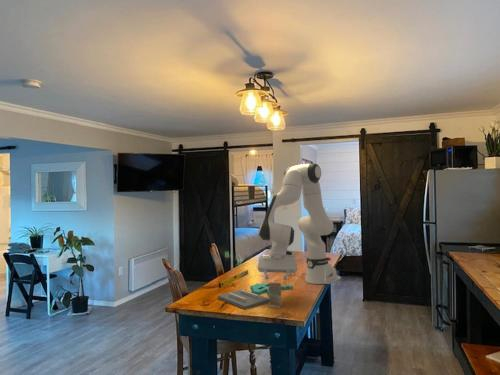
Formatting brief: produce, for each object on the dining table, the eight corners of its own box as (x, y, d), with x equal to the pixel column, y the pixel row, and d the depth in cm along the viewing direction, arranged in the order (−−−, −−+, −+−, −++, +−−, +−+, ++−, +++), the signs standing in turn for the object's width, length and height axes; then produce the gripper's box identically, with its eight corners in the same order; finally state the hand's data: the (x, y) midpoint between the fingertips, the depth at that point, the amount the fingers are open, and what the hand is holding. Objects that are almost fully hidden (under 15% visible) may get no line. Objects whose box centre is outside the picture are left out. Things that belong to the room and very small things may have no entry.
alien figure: (293, 289, 202) (264, 284, 215) (292, 285, 202) (264, 280, 215) (272, 299, 187) (242, 293, 200) (271, 294, 187) (242, 289, 200)
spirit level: (220, 288, 210) (220, 282, 210) (218, 287, 211) (218, 282, 211) (248, 274, 240) (248, 270, 240) (246, 274, 240) (246, 270, 240)
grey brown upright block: (270, 303, 178) (270, 281, 178) (281, 304, 177) (281, 281, 177) (269, 307, 173) (268, 284, 173) (280, 307, 172) (279, 284, 172)
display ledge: (242, 291, 200) (242, 286, 200) (270, 301, 181) (270, 295, 181) (217, 298, 190) (217, 292, 190) (245, 309, 171) (244, 303, 171)
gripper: (258, 252, 190) (254, 274, 180) (297, 252, 185) (295, 276, 175) (260, 258, 194) (256, 281, 185) (298, 259, 189) (296, 283, 180)
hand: (275, 279), depth 180 cm, fingers open, 8 cm apart
